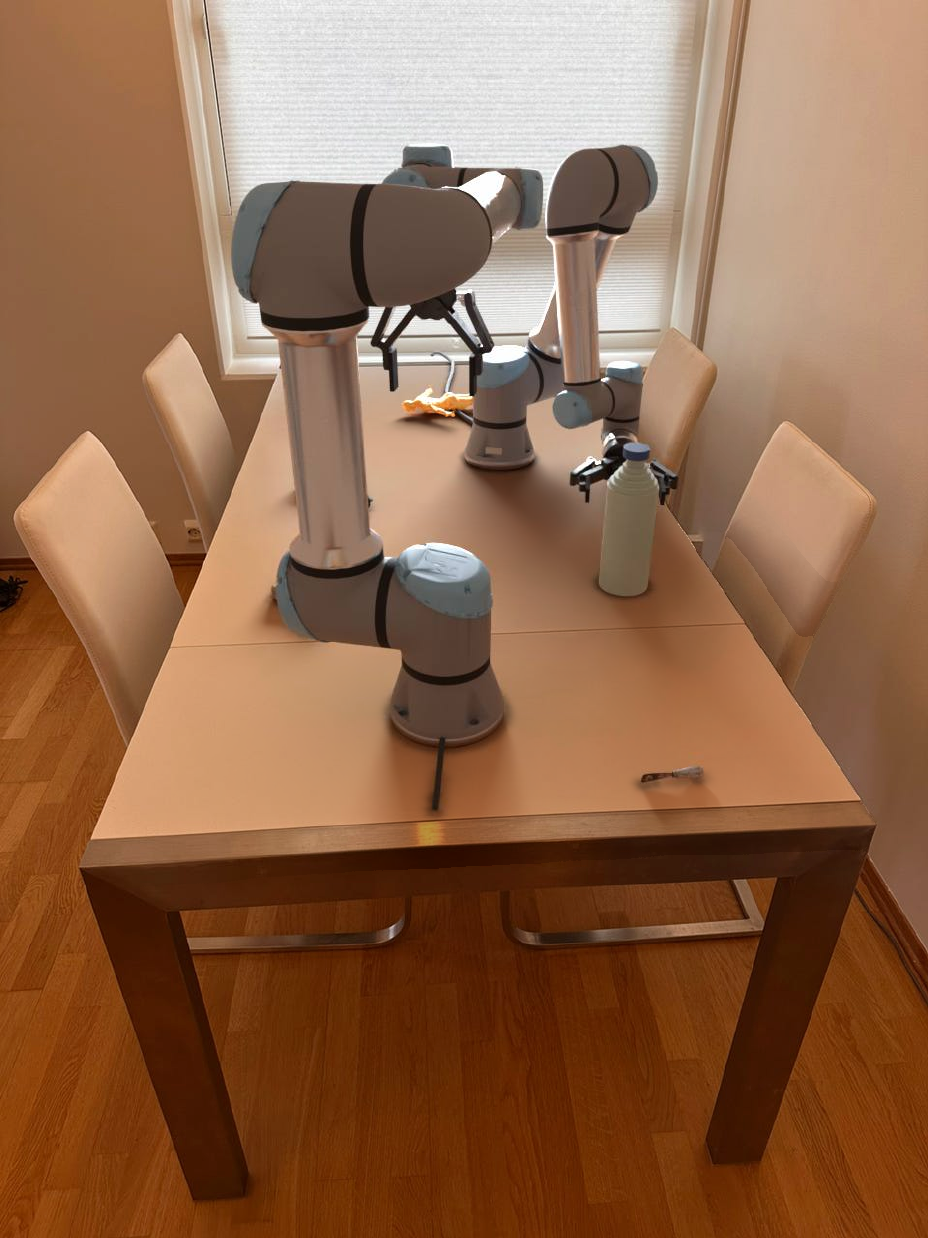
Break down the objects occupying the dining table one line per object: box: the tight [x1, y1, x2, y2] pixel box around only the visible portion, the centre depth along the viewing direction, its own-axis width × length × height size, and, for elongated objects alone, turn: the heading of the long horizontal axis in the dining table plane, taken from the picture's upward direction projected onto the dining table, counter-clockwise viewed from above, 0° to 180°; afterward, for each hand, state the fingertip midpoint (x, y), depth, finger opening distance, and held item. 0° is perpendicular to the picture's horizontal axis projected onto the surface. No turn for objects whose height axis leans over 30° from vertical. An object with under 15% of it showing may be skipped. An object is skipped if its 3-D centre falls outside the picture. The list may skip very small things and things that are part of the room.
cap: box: [623, 442, 651, 462], centre depth 138 cm, size 4×4×2 cm
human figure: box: [402, 385, 473, 418], centre depth 225 cm, size 20×20×4 cm
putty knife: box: [640, 765, 705, 784], centre depth 109 cm, size 1×8×2 cm, turn 103°
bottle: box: [598, 459, 659, 597], centre depth 144 cm, size 8×8×24 cm
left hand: (433, 391), depth 149 cm, fingers open, 13 cm apart
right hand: (625, 497), depth 162 cm, fingers open, 13 cm apart
